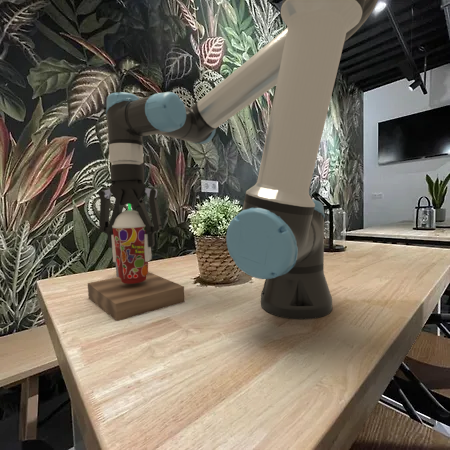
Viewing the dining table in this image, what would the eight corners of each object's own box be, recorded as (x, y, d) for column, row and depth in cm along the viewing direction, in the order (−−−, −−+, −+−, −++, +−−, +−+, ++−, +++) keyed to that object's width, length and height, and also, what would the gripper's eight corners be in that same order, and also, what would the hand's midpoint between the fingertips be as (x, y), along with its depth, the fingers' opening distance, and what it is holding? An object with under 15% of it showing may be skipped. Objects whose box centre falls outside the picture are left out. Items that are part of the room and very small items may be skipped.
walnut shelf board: (184, 302, 68) (183, 286, 67) (116, 323, 57) (115, 304, 57) (147, 284, 83) (146, 271, 83) (88, 298, 73) (87, 283, 72)
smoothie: (141, 286, 65) (136, 198, 63) (108, 285, 67) (102, 199, 65) (157, 276, 73) (153, 198, 71) (127, 275, 75) (122, 198, 73)
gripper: (172, 165, 70) (176, 256, 73) (93, 167, 71) (99, 257, 73) (164, 161, 63) (169, 263, 65) (76, 164, 64) (84, 264, 66)
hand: (132, 260), depth 69 cm, fingers closed on smoothie, 7 cm apart
